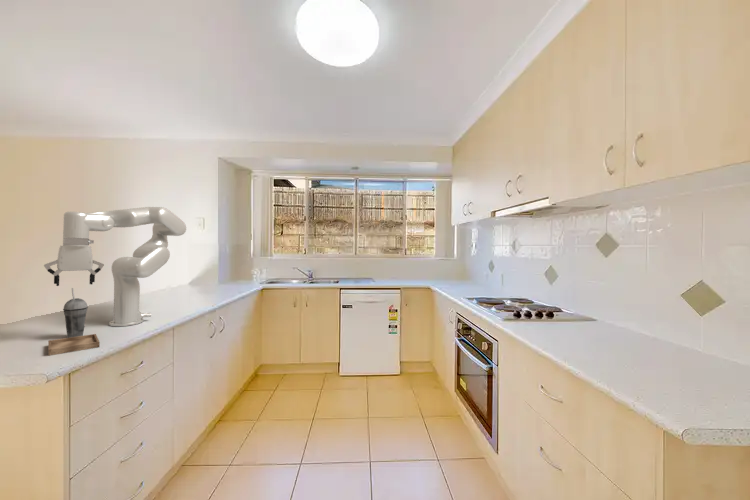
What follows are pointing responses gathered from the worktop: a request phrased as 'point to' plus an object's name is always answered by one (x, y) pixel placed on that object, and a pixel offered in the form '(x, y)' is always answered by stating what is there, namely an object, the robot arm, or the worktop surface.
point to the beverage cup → (75, 316)
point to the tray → (72, 344)
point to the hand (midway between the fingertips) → (74, 284)
